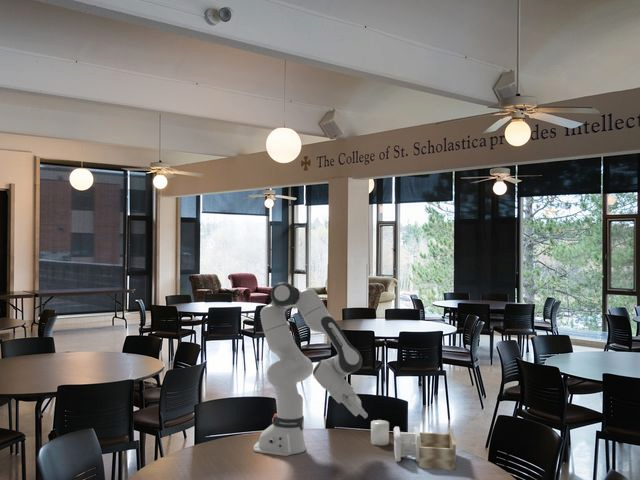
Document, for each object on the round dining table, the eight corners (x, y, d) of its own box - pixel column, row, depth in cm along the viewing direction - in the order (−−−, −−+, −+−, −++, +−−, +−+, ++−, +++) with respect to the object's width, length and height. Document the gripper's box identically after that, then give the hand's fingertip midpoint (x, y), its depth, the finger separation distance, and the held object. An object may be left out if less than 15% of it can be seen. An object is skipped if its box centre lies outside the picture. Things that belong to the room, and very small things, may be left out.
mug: (370, 444, 269) (370, 424, 269) (371, 437, 280) (371, 417, 280) (388, 446, 268) (388, 425, 268) (389, 438, 278) (389, 418, 279)
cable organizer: (420, 465, 245) (421, 436, 245) (394, 464, 246) (394, 435, 246) (417, 452, 260) (418, 425, 260) (392, 451, 261) (393, 424, 261)
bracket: (419, 467, 242) (419, 442, 242) (418, 450, 262) (418, 427, 262) (455, 470, 240) (455, 444, 240) (452, 452, 260) (452, 429, 260)
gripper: (348, 392, 246) (372, 417, 245) (348, 383, 267) (371, 406, 266) (337, 403, 246) (361, 428, 245) (338, 393, 267) (361, 416, 266)
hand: (366, 416), depth 256 cm, fingers closed
